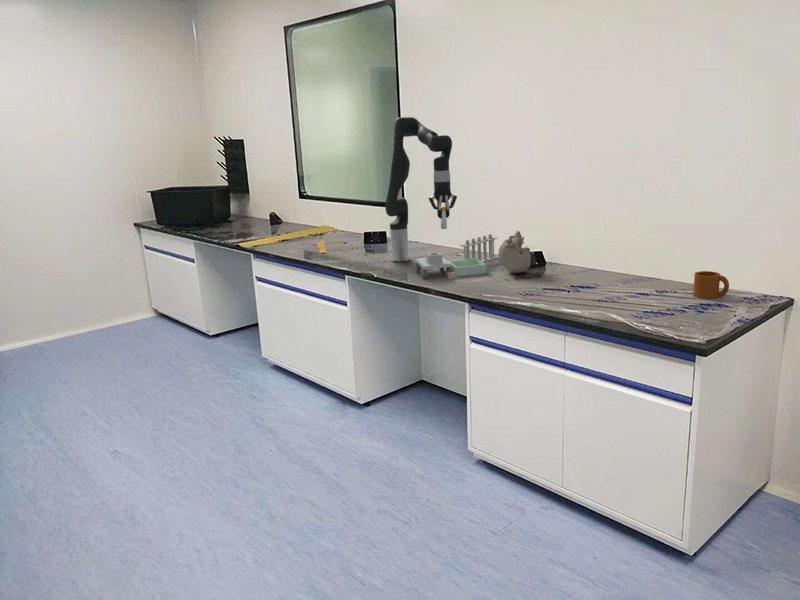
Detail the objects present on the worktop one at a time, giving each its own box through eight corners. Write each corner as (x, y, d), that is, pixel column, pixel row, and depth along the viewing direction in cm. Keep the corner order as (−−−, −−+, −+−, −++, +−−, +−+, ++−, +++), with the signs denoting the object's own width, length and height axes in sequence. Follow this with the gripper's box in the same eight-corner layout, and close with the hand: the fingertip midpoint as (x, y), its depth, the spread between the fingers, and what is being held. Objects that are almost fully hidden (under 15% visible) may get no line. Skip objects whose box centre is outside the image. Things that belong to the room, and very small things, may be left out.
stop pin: (440, 228, 294) (439, 207, 291) (446, 227, 294) (445, 206, 291) (441, 229, 291) (440, 207, 288) (447, 228, 291) (446, 207, 289)
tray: (447, 269, 307) (446, 261, 306) (475, 266, 310) (475, 257, 309) (455, 276, 293) (455, 267, 292) (486, 273, 296) (486, 264, 295)
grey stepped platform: (415, 271, 308) (414, 250, 305) (443, 268, 310) (442, 247, 307) (425, 281, 288) (424, 259, 286) (455, 277, 291) (454, 255, 288)
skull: (530, 276, 286) (530, 233, 281) (497, 276, 290) (497, 233, 284) (530, 269, 298) (530, 228, 293) (499, 269, 301) (498, 228, 296)
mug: (723, 301, 234) (725, 278, 231) (690, 297, 241) (691, 275, 239) (730, 295, 240) (732, 273, 237) (697, 291, 248) (698, 269, 245)
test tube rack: (466, 268, 309) (465, 241, 306) (459, 266, 312) (459, 241, 309) (498, 258, 325) (498, 233, 322) (491, 257, 328) (491, 232, 325)
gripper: (454, 178, 291) (455, 215, 296) (425, 181, 289) (427, 218, 294) (458, 179, 284) (460, 217, 289) (429, 182, 282) (430, 220, 286)
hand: (443, 217), depth 291 cm, fingers closed on stop pin, 2 cm apart
